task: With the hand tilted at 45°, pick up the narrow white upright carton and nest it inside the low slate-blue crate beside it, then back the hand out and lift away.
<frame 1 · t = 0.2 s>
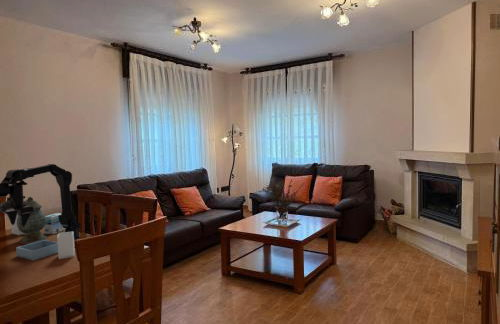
hand: (18, 225, 164), 15 cm above the table, tool pointing down, fingers open, 9 cm apart
supplement box: (23, 233, 206), on the table
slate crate: (39, 253, 165), on the table
white upright carton: (66, 255, 161), on the table
light bulb box: (55, 232, 207), on the table
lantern: (33, 240, 190), on the table
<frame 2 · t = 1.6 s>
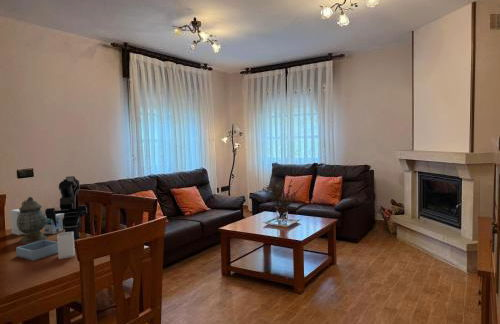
hand: (66, 225, 167), 13 cm above the table, tool tilted 45°, fingers open, 9 cm apart
nothing on the table moved.
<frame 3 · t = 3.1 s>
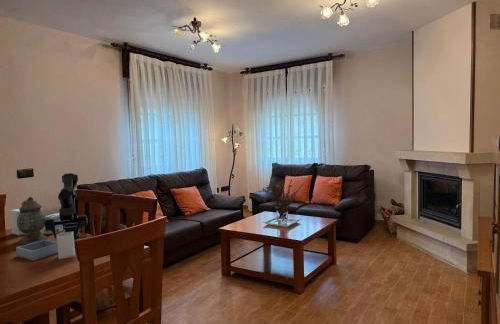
hand: (66, 236, 161), 9 cm above the table, tool tilted 45°, fingers open, 9 cm apart
nothing on the table moved.
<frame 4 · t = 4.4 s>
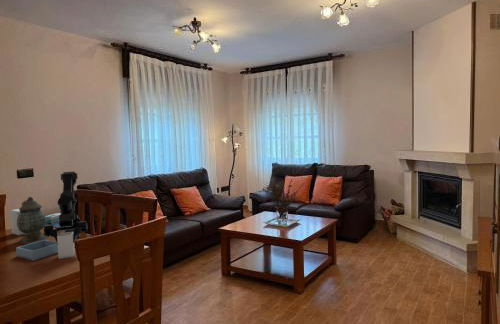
hand: (65, 243, 159), 7 cm above the table, tool tilted 45°, fingers closed on white upright carton, 6 cm apart
white upright carton: (66, 255, 161), on the table, touching gripper
everything else where it was.
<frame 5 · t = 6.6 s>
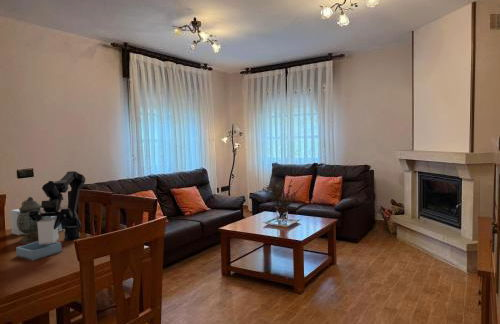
hand: (46, 229, 160), 13 cm above the table, tool tilted 45°, fingers closed on white upright carton, 6 cm apart
white upright carton: (49, 241, 161), point 7 cm above the table, touching gripper
everything else where it was.
when the fingers open (9 cm above the table, at t = 8.7 s): white upright carton drops 2 cm, resting on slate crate.
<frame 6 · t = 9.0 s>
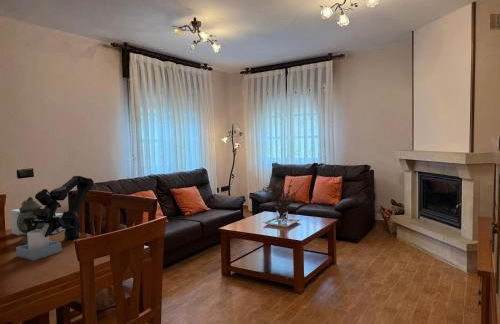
hand: (36, 237, 163), 9 cm above the table, tool tilted 45°, fingers open, 9 cm apart
white upright carton: (39, 252, 165), point 1 cm above the table, touching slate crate
everything else where it was.
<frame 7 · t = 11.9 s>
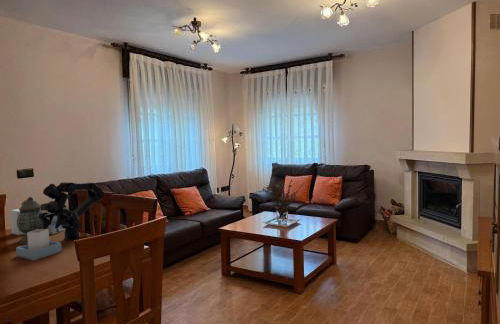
hand: (49, 229, 173), 10 cm above the table, tool tilted 35°, fingers open, 9 cm apart
nothing on the table moved.
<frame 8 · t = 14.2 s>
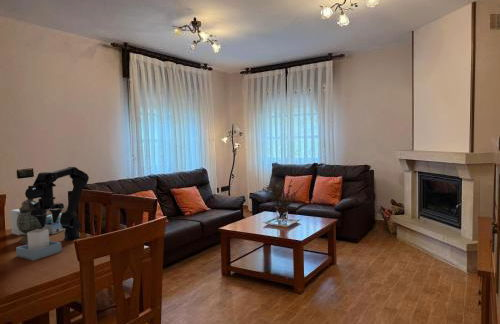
hand: (49, 225, 175), 12 cm above the table, tool pointing down, fingers open, 9 cm apart
nothing on the table moved.
at the end: white upright carton 0.0 cm off-centre on the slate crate, point 0.8 cm above the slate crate's base; white upright carton tilted 0°; the gripper is holding nothing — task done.
